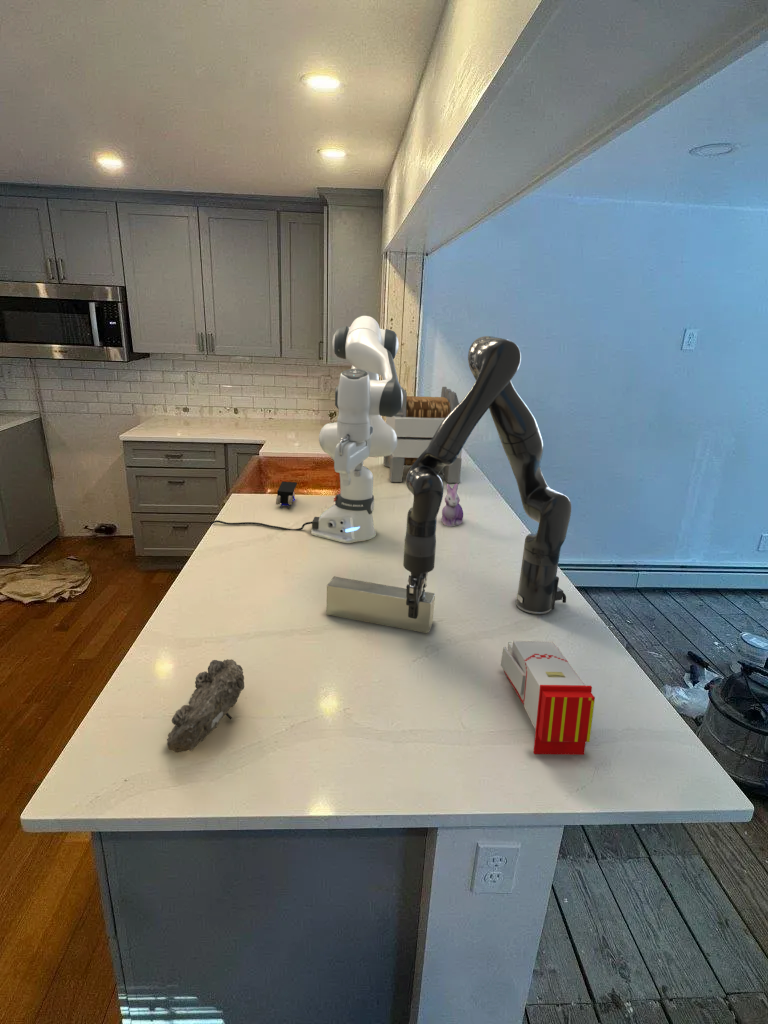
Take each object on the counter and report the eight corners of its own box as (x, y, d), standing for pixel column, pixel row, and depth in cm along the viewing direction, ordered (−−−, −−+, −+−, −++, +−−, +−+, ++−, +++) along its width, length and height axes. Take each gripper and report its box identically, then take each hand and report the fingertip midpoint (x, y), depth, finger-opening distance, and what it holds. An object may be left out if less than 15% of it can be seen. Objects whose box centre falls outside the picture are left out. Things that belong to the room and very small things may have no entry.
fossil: (192, 660, 117) (244, 628, 112) (224, 691, 120) (276, 661, 115) (142, 746, 98) (202, 712, 93) (182, 779, 101) (242, 748, 96)
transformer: (382, 463, 289) (386, 382, 275) (445, 464, 293) (451, 384, 279) (390, 482, 257) (394, 392, 243) (460, 483, 261) (468, 394, 247)
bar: (326, 614, 146) (326, 585, 143) (333, 604, 151) (334, 576, 148) (428, 633, 139) (430, 603, 136) (432, 622, 144) (435, 593, 141)
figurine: (448, 528, 206) (452, 489, 201) (433, 519, 215) (436, 481, 210) (470, 525, 210) (473, 486, 205) (454, 516, 219) (457, 479, 214)
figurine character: (293, 513, 218) (297, 497, 231) (292, 495, 215) (297, 480, 228) (275, 513, 218) (281, 496, 231) (274, 495, 214) (280, 479, 228)
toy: (549, 624, 127) (604, 693, 98) (544, 678, 130) (596, 762, 100) (496, 622, 127) (535, 692, 97) (491, 677, 129) (528, 761, 100)
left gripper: (351, 440, 143) (350, 492, 148) (375, 426, 162) (373, 472, 166) (328, 438, 145) (327, 489, 149) (354, 424, 163) (353, 470, 168)
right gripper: (429, 563, 128) (424, 629, 134) (440, 540, 141) (435, 601, 147) (396, 558, 130) (393, 623, 136) (411, 536, 143) (407, 596, 149)
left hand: (352, 480), depth 158 cm, fingers open, 8 cm apart
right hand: (415, 611), depth 141 cm, fingers closed on bar, 5 cm apart
